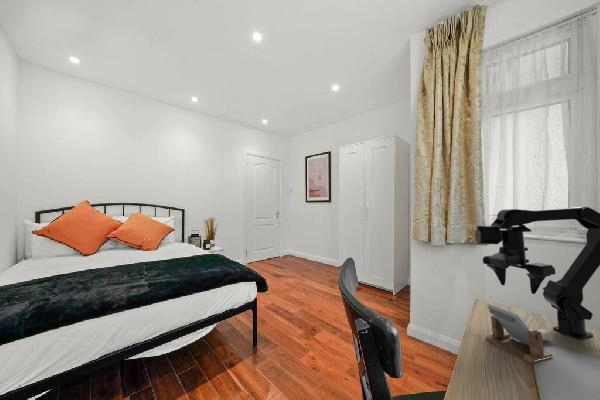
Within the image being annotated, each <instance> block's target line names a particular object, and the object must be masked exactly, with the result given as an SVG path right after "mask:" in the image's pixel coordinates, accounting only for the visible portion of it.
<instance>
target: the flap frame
mask: <svg viewBox="0 0 600 400" xmlns="http://www.w3.org/2000/svg"><path fill="white" fill-rule="evenodd" d="M490 321H491V330H492V331H491V332H492V334H487V335H485V340H487V341H489V342H491V343H492V344H494V345H496V346H498V347H499V348H501V349H504V350H505V351H507V352H509V353H510V354H512V355H515V356H517V357H519V358H521V359H522V360H524V361H526V362H528V363H529V364H532V363H535V362H534V361H535V360H538V359H543V358H547V357H551V356H553V353H551V352H549V351H547V350H545V351H543V348H544V347H543V345H544V343H543V341H542V334H541V332H539V331H537V329H536V330H533V331H530V332H528V337H529V345H528V347H529V354H526V353H524V352H522V351H520V350H518V349H516V348H514V347H512V346H511V345H508V344H507V343H504V342H502V341H501V340H505V339H511V338H512V337H511V336H510V335H509V333H508V332H507V331H504V330H505V328H504V327H503V326H502V325H501V323H500V322H499V321H498V320H497V319H496V317H495V316H494V315H491V316H490Z"/></svg>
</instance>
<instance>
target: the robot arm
mask: <svg viewBox="0 0 600 400" xmlns="http://www.w3.org/2000/svg"><path fill="white" fill-rule="evenodd" d="M568 220H569V221H570V220H575V221H576V222H578V223H579V224H580V226H582V227H584V228H585V229H587V232H586V234H585V236H586V244H585V245H584V247H583V248H582V250H581V251H580V252H579V254H578V255H577V257H576V258H575V260H574V261H573V262H572V263H571V265H570V266H569V268H568V269H567V271H566V272H565V273H564V275H563V276H562V277H561V279H559V280H557V281H554V280H551V279H550V280H548V281H547V283H546V286H544V287H542V290H543V292H542V296H543V298H544V300H545V301H546V302H547V303H549V304H550V305H551V307H552V308H553V309H556V316H557V319H556V320H557V326H553V327H552V330H555V331H558V332H560V333H561V334H564V335H568V336H571V337H573V338H575V339H579V340H581V339H587V338H591V337H593V336H594V334H593V333H591V332H589V331H587V328H586V320H588V321H589V320H590V321H591V320H592V318H593V316H594V314H593V312H591V311H590V310H588V309H587V308H586V307H584V306H583V305H582V303H583V301H584V290H583V289H584V288H585V286H586V285H587V284H588V282H589V281H590V279H591V278H592V276H594V274H595V272H596V271H597V269H598V268H599V267H600V212H598V211H596V210H595V209H593V208H591V207H588V206H573V207H568V208H552V209H551V208H550V209H538V210H536V209H535V210H529V209H528V210H527V209H517V208H514V209H513V208H511V209H509V208H507V209H506V208H505V209H501V210H500V211H498V213H497V215H496V219H495V220H494V221H493V222H492V224H491V225H486V226H485V225H476V229H475V233H474V239H475V242H476V244H477V245H499V244H500V243H501V246H499V251H498V252H496V253H494V254H492V255H484V256H483V258H482V264H484V265H486V267H488V268H490V269H492V271H493V273H495V275H496V277H497V279H498V281H499V282H500V285H501V286H505V285H506V279H507V278H506V277H507V274H506V273H507V269H509V268H510V267H514V268H517V269H523V270H526V271H527V272H528V273H526V275H527V277H528V278H529V286H530V287H529V288H530V292H531V294H533V295H535V294H536V293H537V291H538V289H539V288H540V286H541V284H542V283H543V281H544V280H545V279H546V278H547V277H550V276H552V275H556V268H555V267H554V266H553V265H552V264H547V263H542V262H535V263H530V259H526V257H527V255H526V251H528V249H529V247H525V238H524V233H530V232H532V230H531V229H530V228H528V227H527V226H526V225H528V224H531V223H535V222H547V221H548V222H549V221H568Z"/></svg>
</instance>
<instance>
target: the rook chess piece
mask: <svg viewBox="0 0 600 400" xmlns="http://www.w3.org/2000/svg"><path fill="white" fill-rule="evenodd" d="M528 329H529V330H530V331H534V329H532V328H529V327H528ZM536 330H537V329H536ZM537 331H539V332H541V334H542V342H543V341H545V342H550V341H551V340H552V339H553V337H552V336H553V335H552V334H551V333H550V331H548V330H547V329H543V328H540V329H538V330H537Z"/></svg>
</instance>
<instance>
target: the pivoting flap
mask: <svg viewBox="0 0 600 400" xmlns="http://www.w3.org/2000/svg"><path fill="white" fill-rule="evenodd" d="M486 308H487V309H488V310H489V311H488V312H489V313H490V314H491V315H492V316H495V317H496V319H497V320H498V321H499V322H500V323H501V325H502V326H503V329H504V330H505V332H506V333H508V334H509V335H510V337H511V338H512V339H514V340H516V341H519V342H521V343H523V344H525V345H527V346H529V337H528V332H530V330H529V329H530V328H529V327H528V326H527V325H526V324H525V322H524V321H523V320H522V319H521V317H520V316H519V315H518V314H517V313H513V312H510V311H507V310H505V309H503V308H500V307H498V306H495V305H492V304H489V303H488V304H487V305H486ZM528 328H529V329H528ZM543 351H546V348H545V347H543Z"/></svg>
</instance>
